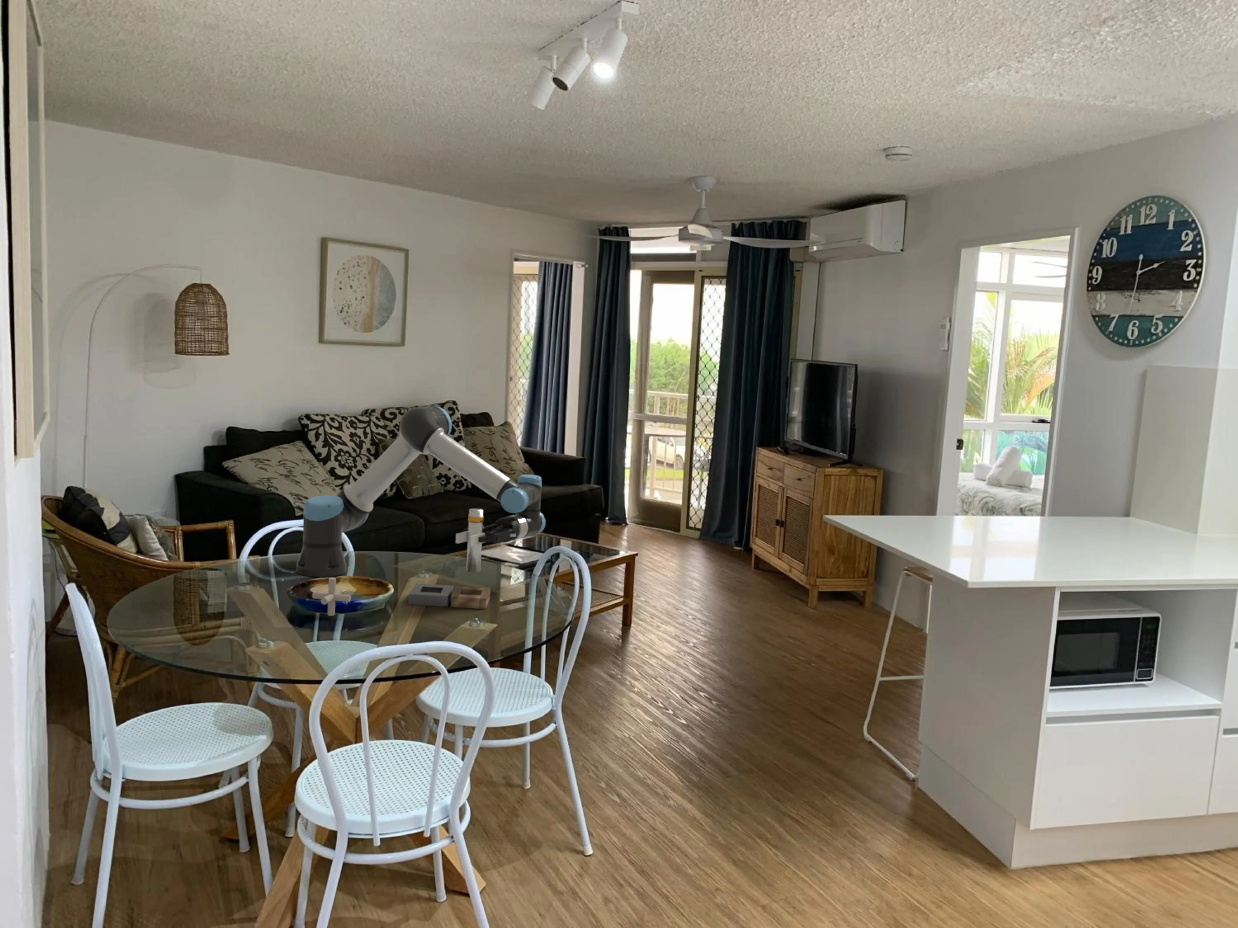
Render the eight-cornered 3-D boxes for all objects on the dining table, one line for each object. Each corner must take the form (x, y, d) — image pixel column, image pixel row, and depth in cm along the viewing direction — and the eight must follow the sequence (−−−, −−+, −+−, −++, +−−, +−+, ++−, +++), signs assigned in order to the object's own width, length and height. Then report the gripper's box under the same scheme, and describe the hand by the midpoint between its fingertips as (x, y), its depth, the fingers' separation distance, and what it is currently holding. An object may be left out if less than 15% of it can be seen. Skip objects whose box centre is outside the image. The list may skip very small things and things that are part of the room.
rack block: (450, 606, 261) (451, 596, 261) (456, 595, 273) (456, 585, 272) (485, 608, 261) (486, 598, 261) (489, 597, 273) (490, 587, 273)
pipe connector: (356, 611, 250) (357, 575, 249) (341, 621, 240) (343, 584, 239) (321, 607, 251) (322, 572, 250) (305, 618, 241) (306, 581, 240)
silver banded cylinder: (464, 572, 264) (467, 510, 262) (466, 568, 268) (469, 508, 266) (480, 572, 264) (483, 511, 262) (481, 569, 268) (484, 509, 266)
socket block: (408, 604, 260) (408, 594, 260) (415, 593, 272) (416, 583, 272) (447, 606, 261) (447, 596, 261) (452, 595, 273) (453, 585, 272)
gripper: (532, 544, 277) (487, 557, 257) (486, 536, 285) (439, 548, 264) (534, 520, 276) (488, 531, 256) (488, 512, 284) (440, 522, 263)
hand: (463, 539), depth 260 cm, fingers closed on silver banded cylinder, 4 cm apart
